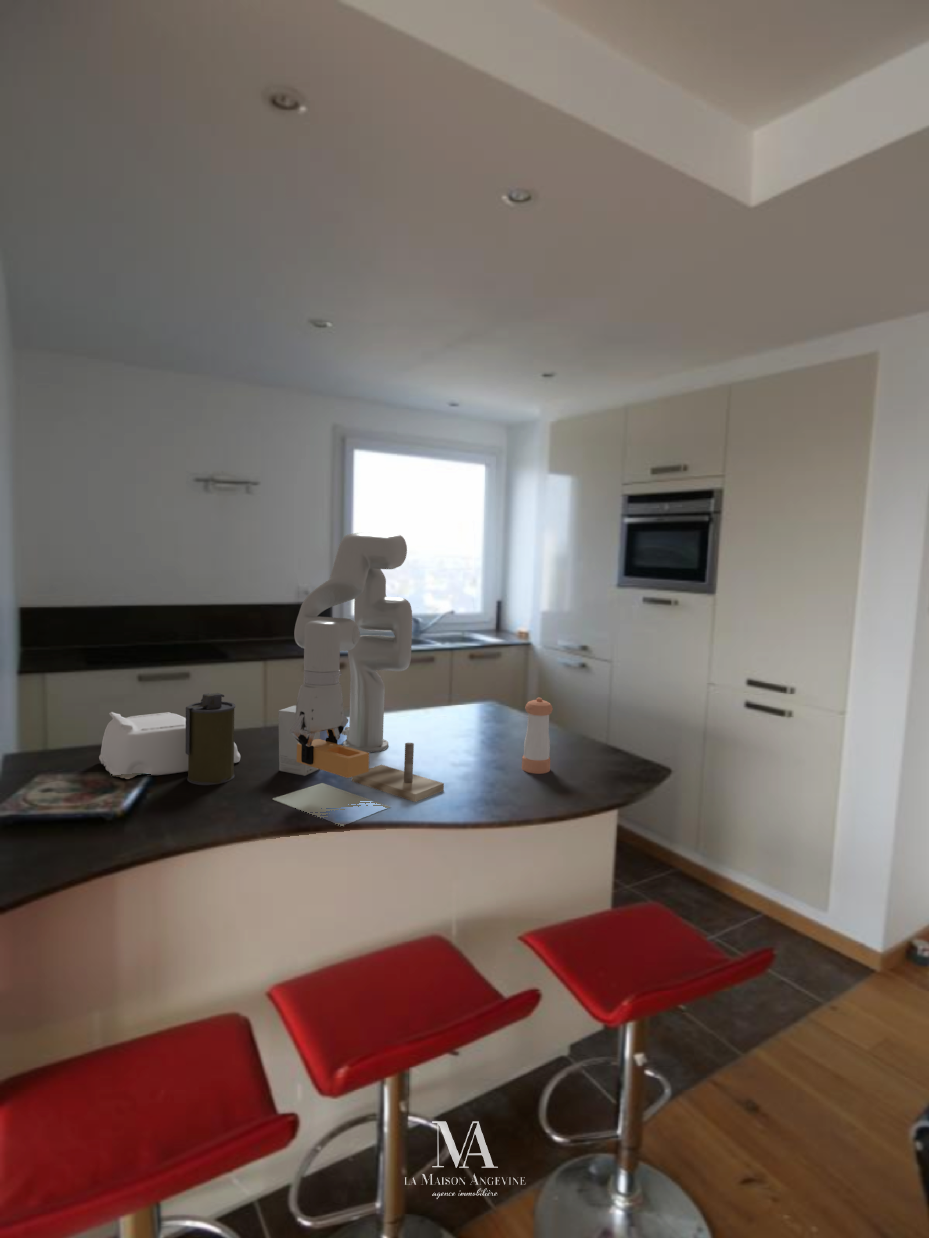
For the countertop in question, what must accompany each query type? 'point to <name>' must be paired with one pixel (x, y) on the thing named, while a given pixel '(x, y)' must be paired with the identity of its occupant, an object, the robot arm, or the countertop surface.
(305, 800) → the mat
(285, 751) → the skincare box
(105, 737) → the white toaster
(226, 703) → the canister
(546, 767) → the pepper shaker
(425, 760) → the countertop surface
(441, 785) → the peg base
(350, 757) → the link
